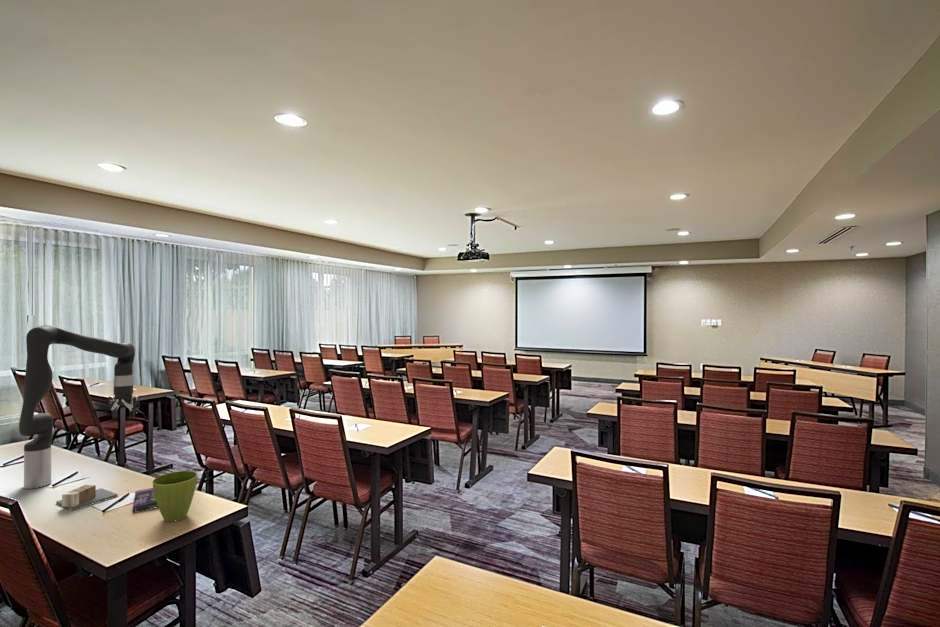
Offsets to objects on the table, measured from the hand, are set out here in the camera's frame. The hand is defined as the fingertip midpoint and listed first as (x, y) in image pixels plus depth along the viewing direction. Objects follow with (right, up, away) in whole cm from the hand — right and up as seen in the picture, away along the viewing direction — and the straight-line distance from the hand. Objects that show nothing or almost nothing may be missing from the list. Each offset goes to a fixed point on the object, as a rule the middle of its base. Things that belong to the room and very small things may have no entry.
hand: (123, 418), depth 216 cm
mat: (+2, -30, -22) cm, 38 cm away
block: (+2, -27, -21) cm, 34 cm away
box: (+31, -31, -23) cm, 49 cm away
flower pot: (+51, -31, -39) cm, 71 cm away
